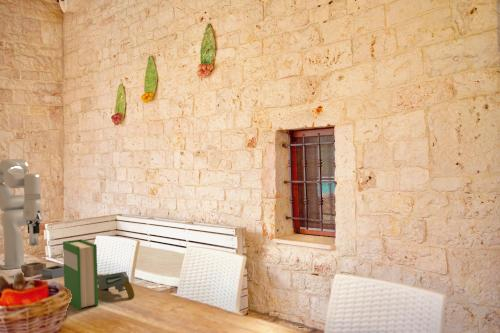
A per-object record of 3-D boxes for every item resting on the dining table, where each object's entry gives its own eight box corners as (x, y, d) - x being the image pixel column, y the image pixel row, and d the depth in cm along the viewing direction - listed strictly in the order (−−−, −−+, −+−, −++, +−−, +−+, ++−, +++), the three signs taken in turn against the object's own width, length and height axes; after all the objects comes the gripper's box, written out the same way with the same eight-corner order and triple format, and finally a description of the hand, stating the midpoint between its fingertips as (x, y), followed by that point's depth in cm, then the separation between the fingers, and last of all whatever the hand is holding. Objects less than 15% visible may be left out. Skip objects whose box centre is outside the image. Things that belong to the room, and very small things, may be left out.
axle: (28, 245, 219) (27, 224, 219) (35, 244, 222) (34, 223, 222) (32, 245, 217) (31, 224, 217) (39, 244, 220) (39, 223, 220)
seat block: (41, 276, 214) (41, 268, 214) (58, 272, 221) (58, 264, 221) (52, 278, 209) (52, 270, 209) (68, 274, 216) (68, 266, 216)
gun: (108, 307, 190) (100, 274, 194) (138, 296, 175) (129, 260, 179) (102, 309, 188) (94, 276, 191) (131, 298, 173) (122, 262, 176)
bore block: (21, 274, 219) (21, 265, 219) (37, 271, 226) (36, 261, 226) (30, 276, 214) (30, 266, 214) (46, 272, 221) (46, 263, 221)
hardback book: (98, 305, 166) (96, 244, 166) (78, 310, 161) (76, 247, 161) (83, 295, 179) (81, 239, 179) (64, 299, 175) (63, 241, 175)
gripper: (16, 198, 221) (17, 233, 221) (34, 198, 212) (35, 235, 212) (30, 196, 227) (31, 231, 227) (48, 197, 218) (49, 233, 218)
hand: (33, 232), depth 220 cm, fingers closed on axle, 4 cm apart
